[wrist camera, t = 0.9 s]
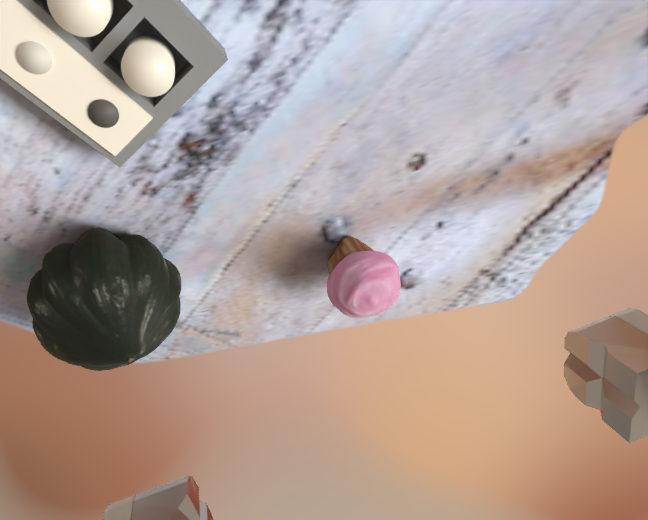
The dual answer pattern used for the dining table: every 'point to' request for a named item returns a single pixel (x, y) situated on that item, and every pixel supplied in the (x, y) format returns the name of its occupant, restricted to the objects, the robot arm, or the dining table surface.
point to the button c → (148, 66)
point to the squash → (104, 300)
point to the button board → (103, 69)
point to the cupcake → (362, 279)
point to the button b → (81, 15)
